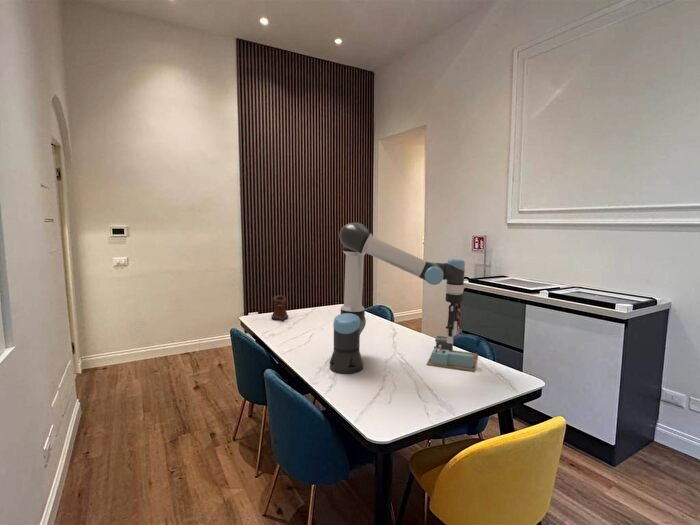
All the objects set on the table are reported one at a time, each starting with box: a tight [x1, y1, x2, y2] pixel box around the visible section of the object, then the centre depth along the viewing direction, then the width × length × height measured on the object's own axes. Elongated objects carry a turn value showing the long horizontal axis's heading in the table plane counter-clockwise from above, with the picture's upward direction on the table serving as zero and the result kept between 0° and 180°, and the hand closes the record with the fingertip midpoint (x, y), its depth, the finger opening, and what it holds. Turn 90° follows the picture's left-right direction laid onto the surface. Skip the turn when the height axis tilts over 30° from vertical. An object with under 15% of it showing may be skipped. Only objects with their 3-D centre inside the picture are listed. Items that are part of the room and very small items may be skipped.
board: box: [426, 349, 478, 373], centre depth 183 cm, size 24×21×1 cm
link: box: [431, 347, 473, 368], centre depth 176 cm, size 18×7×5 cm, turn 69°
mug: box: [270, 294, 289, 322], centre depth 252 cm, size 18×12×15 cm, turn 24°
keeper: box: [433, 335, 454, 352], centre depth 191 cm, size 8×8×7 cm
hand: (451, 338), depth 175 cm, fingers open, 13 cm apart
